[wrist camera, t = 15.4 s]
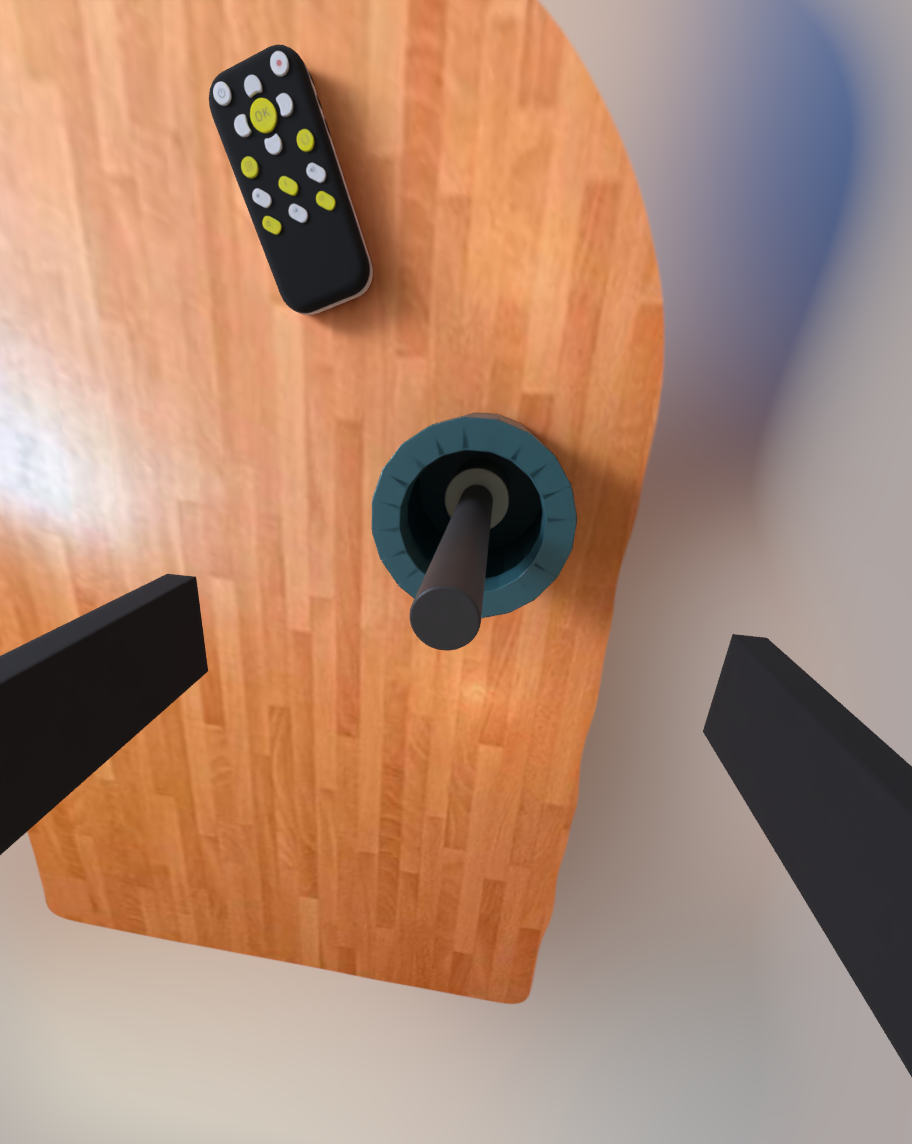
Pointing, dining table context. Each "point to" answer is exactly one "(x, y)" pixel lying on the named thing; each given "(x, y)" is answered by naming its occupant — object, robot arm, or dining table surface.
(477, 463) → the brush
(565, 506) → the jar
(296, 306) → the remote control
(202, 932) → the dining table surface
